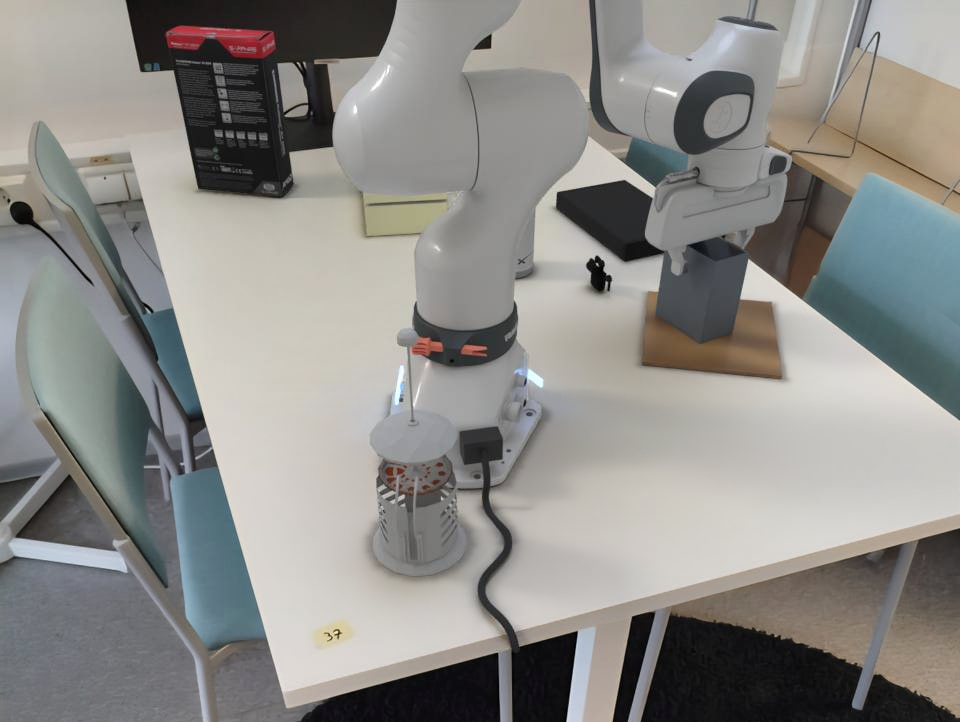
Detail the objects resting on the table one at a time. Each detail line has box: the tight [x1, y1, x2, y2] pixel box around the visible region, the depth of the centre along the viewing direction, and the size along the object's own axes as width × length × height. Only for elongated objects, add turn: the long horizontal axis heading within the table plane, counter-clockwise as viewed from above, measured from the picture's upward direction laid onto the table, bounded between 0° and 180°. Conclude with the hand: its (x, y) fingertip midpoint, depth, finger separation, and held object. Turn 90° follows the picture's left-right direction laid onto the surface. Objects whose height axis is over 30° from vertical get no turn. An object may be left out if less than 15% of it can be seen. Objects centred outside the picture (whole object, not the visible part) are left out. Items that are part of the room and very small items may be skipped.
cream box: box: [359, 191, 449, 237], centre depth 160 cm, size 45×15×10 cm, turn 8°
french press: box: [369, 327, 468, 577], centre depth 80 cm, size 10×12×25 cm
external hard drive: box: [555, 179, 664, 262], centre depth 147 cm, size 14×23×3 cm, turn 24°
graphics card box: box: [165, 25, 294, 198], centre depth 152 cm, size 17×7×27 cm, turn 80°
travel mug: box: [515, 207, 537, 279], centre depth 129 cm, size 6×7×20 cm
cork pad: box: [641, 290, 783, 380], centre depth 121 cm, size 20×18×1 cm
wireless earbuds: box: [585, 254, 613, 293], centre depth 129 cm, size 7×2×5 cm, turn 21°
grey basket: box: [655, 236, 751, 344], centre depth 118 cm, size 12×6×10 cm
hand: (706, 265), depth 116 cm, fingers open, 8 cm apart
